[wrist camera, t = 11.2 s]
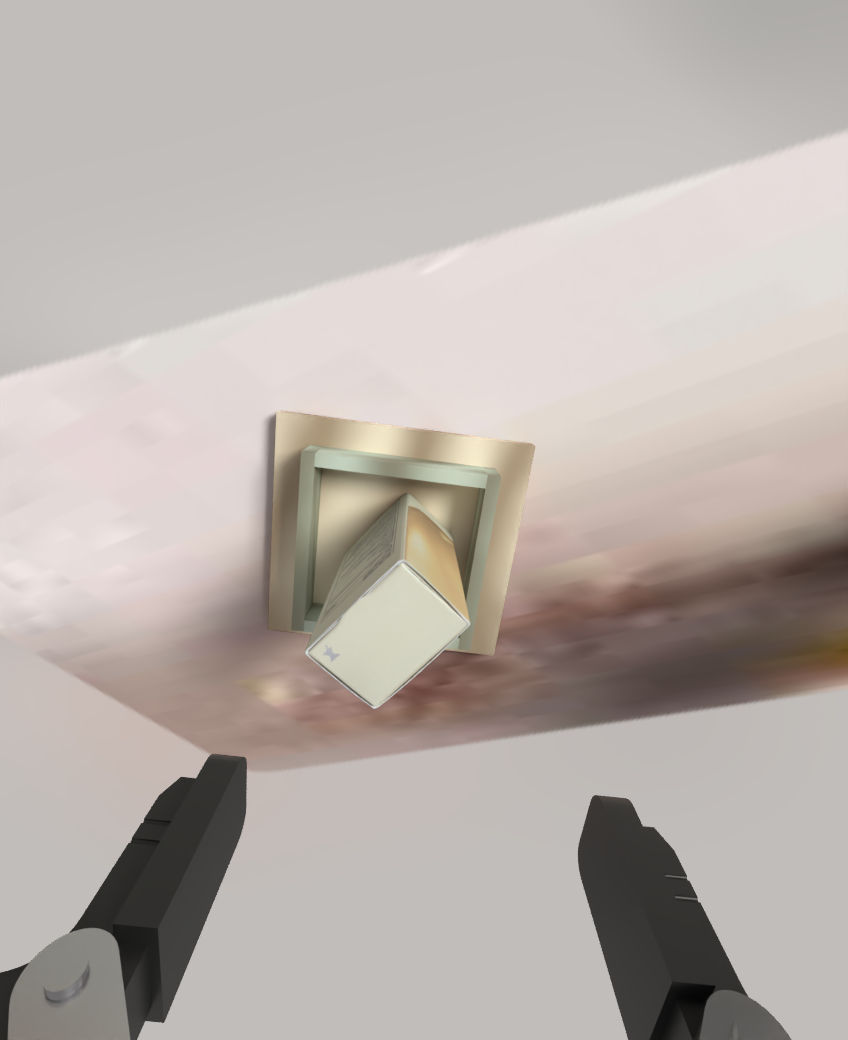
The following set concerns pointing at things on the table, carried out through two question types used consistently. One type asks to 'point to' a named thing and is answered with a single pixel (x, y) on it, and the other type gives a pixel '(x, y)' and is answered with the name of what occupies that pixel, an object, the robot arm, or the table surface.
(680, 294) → the table surface
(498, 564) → the socket stand
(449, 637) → the skincare box
